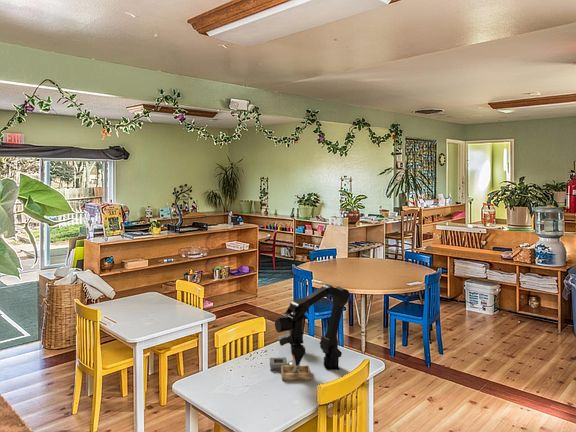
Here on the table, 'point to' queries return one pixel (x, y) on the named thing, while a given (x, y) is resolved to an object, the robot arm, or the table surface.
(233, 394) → the table surface
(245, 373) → the table surface
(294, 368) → the pin
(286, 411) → the table surface
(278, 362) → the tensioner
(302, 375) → the tray
